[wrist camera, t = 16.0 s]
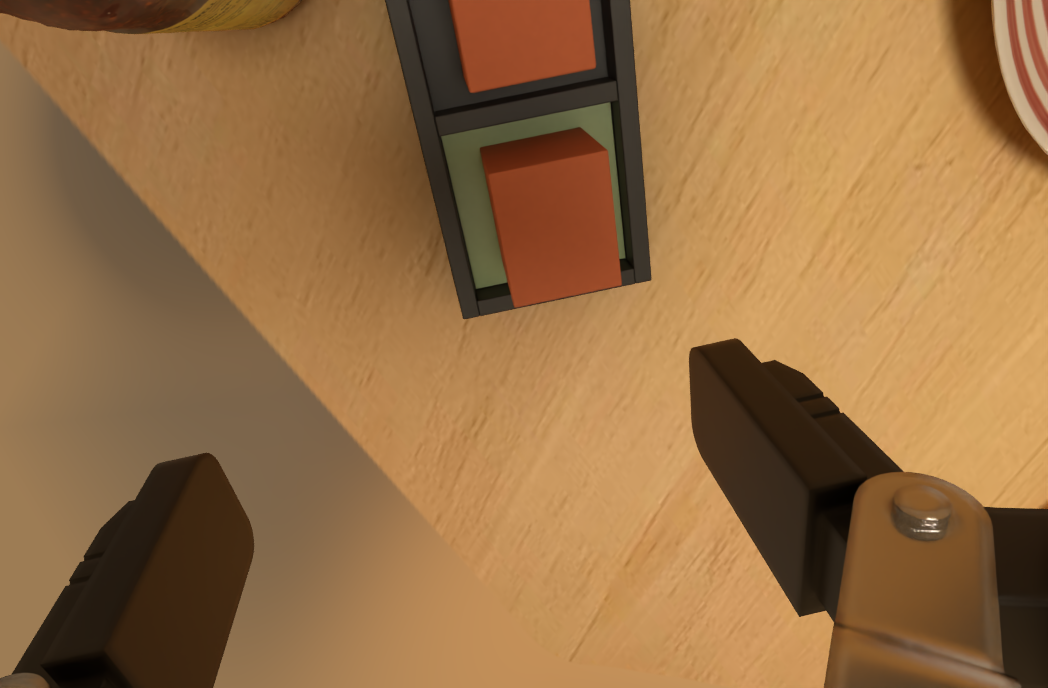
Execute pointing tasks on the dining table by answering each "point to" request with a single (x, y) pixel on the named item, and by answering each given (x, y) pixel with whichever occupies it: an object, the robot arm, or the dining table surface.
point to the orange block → (553, 215)
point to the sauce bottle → (150, 14)
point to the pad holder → (517, 138)
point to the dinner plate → (1024, 60)
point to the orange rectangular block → (521, 40)
